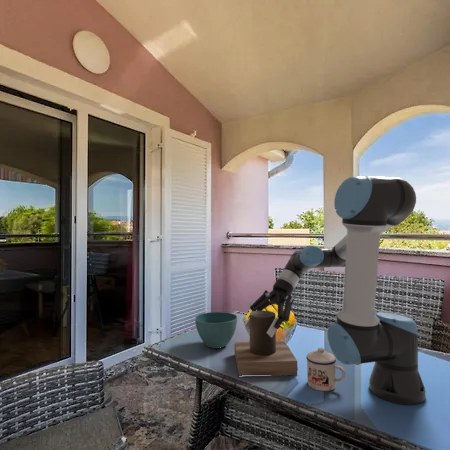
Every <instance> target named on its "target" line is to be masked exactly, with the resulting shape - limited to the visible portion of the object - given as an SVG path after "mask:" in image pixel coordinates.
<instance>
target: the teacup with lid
mask: <svg viewBox="0 0 450 450" xmlns="http://www.w3.org/2000/svg"><path fill="white" fill-rule="evenodd" d="M306 362H307V363H306V365H307V367H306V369H307V371H306V372H307V374H306V375H307V378H306V379H307V385H308V386H309V387H310V388H312V389H313V390H316V391H319V392H329V391H330V392H331V391H333V390H334V389H335V388H336V386H337V385H336V383H341V382H343V381H344V380H345V378H346V370H345V369H344V368H343V367H342V366H341V365H338V364H337V365H336V362H337V358H336V357H335V355H334V354H333V353H330V352H328V351H326V350H325V349H324V348H323V347H317V350H314V351H311V352H308V353H307V355H306ZM336 369H338V370H340V372H341V374H342V376H341V378H336Z"/></svg>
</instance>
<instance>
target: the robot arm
mask: <svg viewBox="0 0 450 450" xmlns="http://www.w3.org/2000/svg"><path fill="white" fill-rule="evenodd" d="M333 203H334V205H333V206H334V210H335V212H336V214H337V216H338V217H339V218H341V219H342V221H341V223H342V225H343V226H344V227H345V228H346V230H347V233H346V235H345V236H344V237H343V238H342V239H340V240H339V241H338V242H337V243H336V244H335V245H334V246H333V247H319V246H318V245H315V244H314V245H313V244H311V245H308V246H305V247H304V248H303V249H296V250H295V251H294V252H293V253H292V254H291V255H290V258H289V259H288V261H287V263H285V266H284V268H283V269H282V271H281V273H280V274H279V275H278V277H277V279H276V281H274V284H273V286H272V290H271V291H270V292H269V291H268V290H264V291H263V293H262V294H261V295H260V296H259V298H257V299H256V300H255V301H254V302H253V303H252V304H251V305H250V306H249V309H250V311H251V312H252V311H264V310H265V309H266V308H267V307H269V306H272V305H276V306H277V315H276V316H275V319H274V321H273V323H272V324H271V326H270V328H269V330H268V331H267V334H268V335H269V336H270V337H271V338H272V337H273V335H274V333H275V332H276V333H277V330H279V328H280V327H281V325H282V323H284V322H286V323H287V322H289V321H290V316H291V310H292V305H293V303H294V301H295V298H294V297H293V296H292V293H293V292H294V290H295V289H296V286H297V284H299V282H300V279H301V278H302V276H303V274H304V273H305V272H306V271H309V270H310V269H317V268H318V269H321V268H325V269H326V268H344V279H343V280H344V282H343V283H344V284H343V297H342V298H343V300H342V309H340V310H339V311H338V312H337V313H336V322H333V323H331V324H330V325H329V326H328V328H327V332H326V334H327V342H328V345H329V347H330V349H331V351H332V355H334V356H335V358H336V360H338V361H339V362H340V363H341V364H343V365H345V366H346V365H347V366H351V365H352V366H353V365H354V366H355V365H356V366H358V365H359V366H360V364H361V365H362V364H368V363H374V365H373V367H372V371H371V372H370V377H369V379H368V380H369V381H368V382H369V383H368V385H369V387H368V388H369V389H370V391H371V393H372V394H373V395H374V396H376V397H378V398H380V399H383V400H385V401H388V402H391V403H393V404H400V405H407V406H408V405H411V406H412V405H420V404H422V403H423V402H425V401H426V393H427V392H426V388H425V385H424V382H423V380H422V377H421V375H420V371H419V345H418V344H419V332H418V325H417V322H416V321H415V320H414V319H412V318H410V317H407V316H405V315H400V314H395V313H390V312H382V311H381V312H375V311H376V295H377V294H376V293H377V283H378V281H377V280H378V269H379V268H378V265H379V250H380V240H381V238H380V237H381V235H382V234H383V233H385V232H386V231H387V230H388V229H390V228H391V227H396V226H398V225H400V224H402V223H403V222H404V221H405V220H406V219H408V217H409V216H410V215H411V214H412V213H413V211H414V209H415V207H416V205H417V195H416V192H415V189H414V187H413V186H412V185H411V183H409V182H408V181H407V180H404V179H403V178H400V177H396V176H395V177H394V176H390V177H388V176H386V177H385V176H371V175H369V176H367V175H361V176H360V175H359V176H357V175H356V176H351V177H348V178H346V179H345V180H343V181H342V183H341V184H340V185H339V186H338V188H337V190H336V193H335V195H334V202H333ZM244 327H245V328H246V329H247V330H250V314H249V316H248V317H247V320H246V322H245V323H244Z"/></svg>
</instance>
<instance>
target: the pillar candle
mask: <svg viewBox="0 0 450 450" xmlns="http://www.w3.org/2000/svg"><path fill="white" fill-rule="evenodd" d="M249 315H250V329H249V342H250V351H251V352H252V353H254V354H257V355H271V354H273V353H275V352H276V341H277V334H276V333H277V331H276V332H275V333H274V335H273V337H272V338H271V337H270V336H269V335H268V334H267V331H268V330H269V328H270V326H271V324H272V323H273V321H274V319H275V317H276V313H275V312H274V311H271V310H262V311H257V310H256V311H252V310H251V312H249Z"/></svg>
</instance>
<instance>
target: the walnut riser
mask: <svg viewBox="0 0 450 450" xmlns="http://www.w3.org/2000/svg"><path fill="white" fill-rule="evenodd" d="M285 341H286V340H276V352H275V353H273V354H271V355H257V354H254V353H252V352H251V351H250V341H234V344H233V346H234V359H235V358H236V360H235V364H236V363H237V365H236V369H237V368H238V370H237V374H239V375H238V377H239V376H242V375H291V376H290V377H293V376H295V375H297V376H298V360H297V358H296V356H295V355H294V354H293V352H292V350H291V349H290V347H289V346H288V345H287V343H286V342H285ZM292 375H293V376H292Z"/></svg>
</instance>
